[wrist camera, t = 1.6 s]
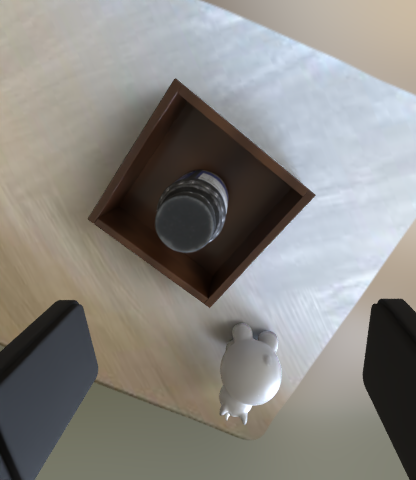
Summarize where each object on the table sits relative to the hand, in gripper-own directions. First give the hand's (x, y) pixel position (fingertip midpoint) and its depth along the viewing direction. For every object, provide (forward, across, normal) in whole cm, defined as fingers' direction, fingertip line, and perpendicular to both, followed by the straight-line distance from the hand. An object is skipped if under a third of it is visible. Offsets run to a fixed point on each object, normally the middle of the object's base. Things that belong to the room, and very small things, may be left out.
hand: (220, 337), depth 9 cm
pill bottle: (+24, +4, 0) cm, 25 cm away
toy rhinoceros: (+25, 0, +23) cm, 34 cm away
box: (+25, +4, 0) cm, 25 cm away
